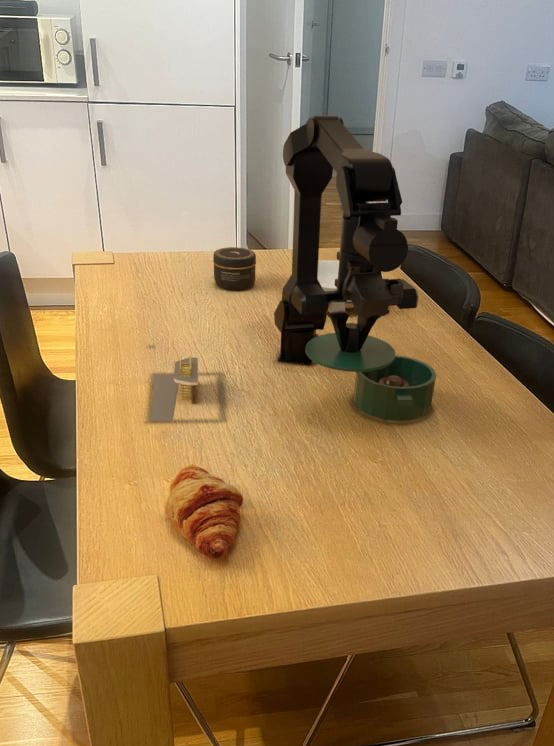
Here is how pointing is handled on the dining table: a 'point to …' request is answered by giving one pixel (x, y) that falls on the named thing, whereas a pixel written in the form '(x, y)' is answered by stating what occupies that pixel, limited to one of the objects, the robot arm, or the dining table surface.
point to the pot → (396, 390)
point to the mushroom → (394, 381)
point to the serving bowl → (329, 276)
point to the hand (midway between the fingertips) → (350, 349)
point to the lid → (350, 352)
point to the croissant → (204, 510)
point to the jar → (234, 268)
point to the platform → (173, 389)
